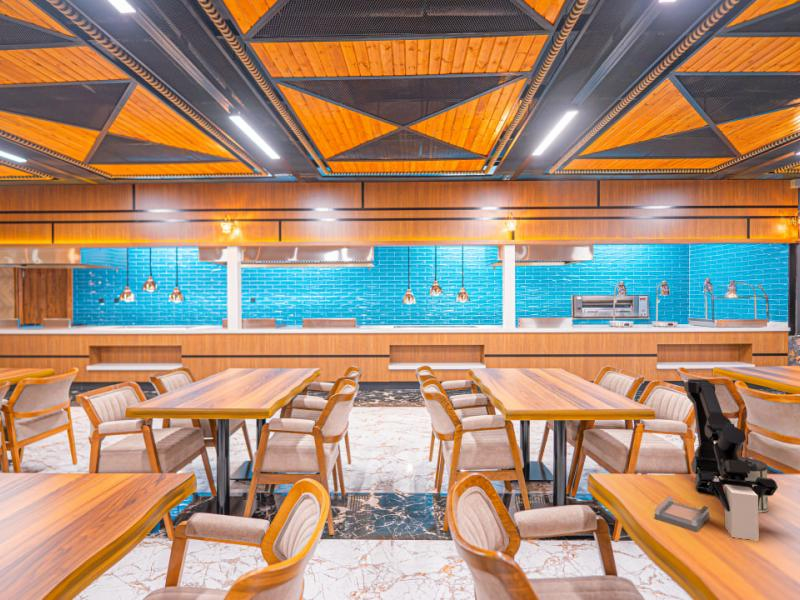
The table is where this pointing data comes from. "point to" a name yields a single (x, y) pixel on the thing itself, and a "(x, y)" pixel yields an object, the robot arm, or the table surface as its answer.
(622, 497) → the table surface
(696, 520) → the display base
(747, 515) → the cream block
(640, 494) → the table surface
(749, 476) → the coffee can
